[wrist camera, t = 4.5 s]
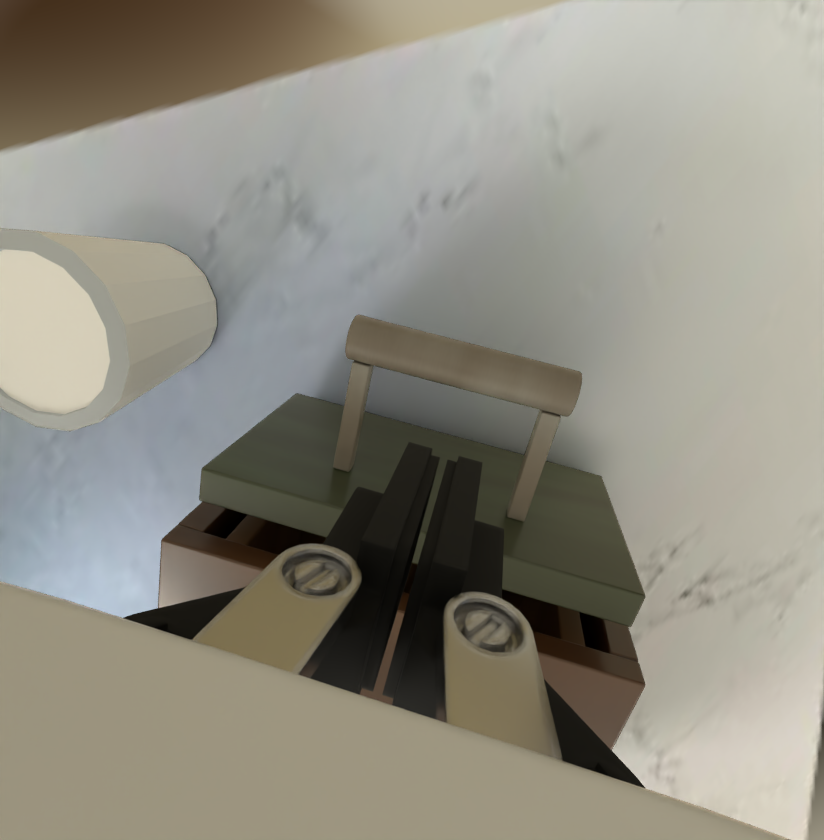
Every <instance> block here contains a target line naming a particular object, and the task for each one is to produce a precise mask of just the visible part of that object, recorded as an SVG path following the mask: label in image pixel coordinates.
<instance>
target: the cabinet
mask: <svg viewBox="0 0 824 840" xmlns="http://www.w3.org/2000/svg"><path fill="white" fill-rule="evenodd" d="M246 516H247V514H243V513H240V512H237V511H233V510H230V509H226V508H223V507H219V506H216V505H213V504H209V503H206V502H202V503H201V504H200V505H198V506H197V507H196V508H195V509H194V510H193V511H192V512H191V513H190V514H188V515H187V516H186V517H185V518H184V519H183V520H182V521H181V522H180V523H179V524H178V525H177V526H176V527H175V528H174V529H172V530H171V531H170V532H169V533H168V534H167V535H166V536H165V537H164V538H163V539H162V541H161V559H160V578H159V598H158V608H162V607H166V606H170V605H174V604H178V603H182V602H186V601H190V600H195V599H199V598H203V597H207V596H211V595H215V594H219V593H223V592H228V591H232V590H236V589H240V588H244V587H246V586H247V585H248V584H249V583H251V582H252V581H253V580H254V579H255V578H256V577H257V576H258V575H259V574H260V573H261V572H262V571H263V570H264V569H265V568H266V567H267V566H268V565H269V564H270V563H271V562H272V561H273V560H274V559H275V558H276V557H277V556H278V555H277V554H274V553H271V552H267V551H264V550H260V549H257V548H254V547H250V546H247V545H244V544H240V543H237V542H234V541H230V540H227V539H226V538H227V537H228V536H229V535H230V533H231V532H232V531H233V530H234V529H235V528H236V527H237V526H238V525H239V523H240V522H241V521H242V520H243V519H244V518H245V517H246ZM408 598H409V594H408V593H405V592H403V594H402V598H401V601H400V604H399V607H398V611H397V614H396V617H395V621H394V624H393V627H392V630H391V634H390V637H389V640H388V644H387V647H386V650H385V654H384V657H383V660H382V663H381V667H380V670H379V673H378V677H377V680H376V683H375V686H374V690H373V692H372V691H369V690H366V689H363V688H362V690H361V693H360V695H362V696H365V697H368V698H372V699H375V700H378V701H381V702H384V703H387V704H390V705H392V702H393V698H390V697H387V696H384V695H382V693H383V690H384V686H385V682H386V679H387V675H388V671H389V668H390V664H391V660H392V657H393V653H394V649H395V646H396V642H397V638H398V635H399V631H400V627H401V624H402V620H403V616H404V613H405V609H406V605H407V602H408ZM579 614H580V619H581V625H582V630H583V636H584V641H585V646H582V645H579V644H575V643H572V642H569V641H565V640H562V639H559V638H555V637H552V636H549V635H545V634H542V633H539V632H535V631H532V632H533V635H534V639H535V644H536V648H537V652H538V656H539V661H540V665H541V669H542V673H543V678H544V679H545V680H546V681H547V682H548V684H549V685H550V686H551V687H552V688H553V689H554V690H555V691H556V692H557V693H558V694H559V695H560V696H561V697H562V698H563V700H564V701H565V702H566V703H567V704H568V705H569V706H570V707H571V708H572V709H573V710H574V711H575V712H576V713H577V714H578V715H579V717H580V718H581V719H582V720H583V721H584V722H585V723H586V724H587V725H588V726H589V727H590V728H591V729H592V730H593V731H594V733H595V734H596V735H597V736H598V737H599V738H600V739H601V740H602V741H603V742H604V743H605V744H606V745H607V746H608V747H609V748H610V750H611V751H612V749H613V747H614V745H615V743H616V741H617V739H618V737H619V735H620V733H621V731H622V729H623V728H624V726H625V724H626V722H627V720H628V718H629V716H630V714H631V712H632V710H633V708H634V707H635V705H636V703H637V701H638V699H639V697H640V695H641V693H642V691H643V689H644V687H645V682H644V678H643V675H642V672H641V668H640V665H639V663H638V658H637V655H636V651H635V648H634V645H633V641H632V638H631V634H630V631H629V628H628V626H625V625H621V624H618V623H615V622H611V621H608V620H604V619H601V618H597V617H594V616H591V615H587V614H584V613H580V612H579Z"/></svg>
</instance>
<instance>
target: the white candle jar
mask: <svg viewBox="0 0 824 840" xmlns="http://www.w3.org/2000/svg"><path fill="white" fill-rule="evenodd" d="M216 327H217V310H216V299H215V297H214V294H213V292H212V290H211V288H210V285H209V283H208V281H207V278H206V276H205V275H204V274H203V272H202V271H201V270H200V269H199V268H198V267H197V266H196V265H195V264H194V263H193V261H192V260H191V259H190V258H189V257H188V256H187V255H185V254H183V253H181V252H179V251H177V250H176V249H174V248H172V247H170V246H168V245H166V244H161V243H151V242H141V241H131V240H121V239H111V238H101V237H91V236H81V235H71V234H61V233H51V232H41V231H29V230H16V229H3V228H0V407H1V408H2V409H3V410H5V411H7V412H9V413H11V414H13V415H15V416H17V417H19V418H21V419H22V420H24V421H26V422H28V423H30V424H32V425H34V426H36V427H41V428H48V429H56V430H63V431H73V430H76V429H79V428H83V427H86V426H89V425H92V424H95V423H98V422H100V421H102V420H104V419H105V418H107V417H108V416H110V415H111V414H113V413H115V412H116V411H118V410H119V409H121V408H122V407H124V406H126V405H127V404H129V403H130V402H132V401H133V400H135V399H136V398H138V397H140V396H141V395H143V394H144V393H146V392H147V391H149V390H151V389H152V388H154V387H155V386H157V385H158V384H160V383H162V382H163V381H165V380H166V379H168V378H169V377H171V376H172V375H174V374H176V373H177V372H179V371H180V370H182V369H183V368H185V367H187V366H188V365H190V364H191V363H193V362H194V361H196V360H197V359H198V358H199V357H200V356H201V355H202V354H203V353H204V352H205V351H206V350H207V349H208V348H209V347H210V345H211V342H212V339H213V336H214V333H215V330H216Z"/></svg>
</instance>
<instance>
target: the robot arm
mask: <svg viewBox="0 0 824 840" xmlns="http://www.w3.org/2000/svg"><path fill="white" fill-rule="evenodd" d="M431 453H432V448H429V447H426V446H422V445H419V444H415V443H412V442H409V443H408V445H407V447H406V449H405V451H404V453H403V455H402V457H401V459H400V461H399V463H398V465H397V467H396V469H395V471H394V473H393V476H392V478H391V480H390V482H389V484H388V486H387V488H386V490H385V492H384V494H383V493H380V492H376V491H373V490H370V489H366V488H363V487H357V488H356V489H355V491H354V493H353V494H352V496H351V498H350V499H349V501H348V503H347V504H346V506H345V508H344V509H343V511H342V513H341V515H340V516H339V518H338V520H337V521H336V523H335V525H334V526H333V528H332V530H331V531H330V533H329V535H328V536H327V538H326V540H325V541H324V543H323V544H313V543H312V544H302V545H297V546H294V547H291V548H288V549H287V550H285V551H284V552H282V553H281V554H280V555H278V556H277V557H276V558H275V559H274V560H273V561H272V562H271V563H270V564H269V565H268V566H267V567H266V568H265V569H264V570H263V571H262V572H261V573H260V574H259V575H258V576H257V577H256V578H255V579H254V580H253V581H252V582H251V583H249V584H248V585H247V586H246V587H244V588H240V589H236V590H232V591H228V592H223V593H219V594H215V595H211V596H207V597H203V598H199V599H195V600H190V601H186V602H182V603H178V604H174V605H170V606H166V607H162V608H157V609H153V610H149V611H145V612H141V613H137V614H133V615H130V616H127V617H124V618H121V617H118V616H115V615H111V614H108V613H105V612H102V611H99V610H96V609H93V608H90V607H86V606H83V605H80V604H77V603H74V602H71V601H68V600H65V599H61V598H58V597H54V596H51V595H47V594H44V593H40V592H36V591H33V590H29V589H26V588H22V587H19V586H15V585H12V584H8V583H5V582H1V581H0V840H790V839H788V838H785V837H782V836H779V835H777V834H774V833H771V832H768V831H766V830H763V829H760V828H758V827H755V826H752V825H749V824H747V823H744V822H741V821H738V820H736V819H733V818H730V817H728V816H725V815H722V814H719V813H717V812H714V811H711V810H708V809H706V808H703V807H700V806H697V805H694V804H691V803H687V802H684V801H681V800H678V799H675V798H672V797H669V796H666V795H663V794H660V793H657V792H654V791H651V790H648V789H645V787H644V786H643V785H642V784H641V782H640V781H639V780H638V778H637V777H636V776H635V775H634V774H633V773H632V772H631V771H630V770H629V769H628V768H627V767H626V766H625V764H624V763H623V762H622V761H621V760H620V759H619V758H618V757H617V756H616V755H615V754H614V753H613V752H612V751H611V750H610V748H609V747H608V746H607V745H606V744H605V743H604V742H603V741H602V740H601V739H600V738H599V737H598V736H597V735H596V734H595V733H594V731H593V730H592V729H591V728H590V727H589V726H588V725H587V724H586V723H585V722H584V721H583V720H582V719H581V718H580V717H579V715H578V714H577V713H576V712H575V711H574V710H573V709H572V708H571V707H570V706H569V705H568V704H567V703H566V702H565V701H564V700H563V698H562V697H561V696H560V695H559V694H558V693H557V692H556V691H555V690H554V689H553V688H552V687H551V686H550V685H549V684H548V682H547V681H546V680H545V679H544V678H543V673H542V669H541V665H540V661H539V656H538V652H537V648H536V644H535V639H534V635H533V632H532V629H531V627H530V624H529V622H528V621H527V619H526V618H525V617H524V616H523V614H522V613H521V612H520V611H519V610H518V609H516V608H515V607H514V606H513V605H511V604H510V603H509V602H507V601H505V600H503V599H502V578H503V551H504V529H503V528H501V527H497V526H494V525H490V524H487V523H483V522H480V521H477V520H475V514H476V507H477V500H478V493H479V485H480V478H481V471H482V463H483V462H479V461H476V460H472V459H469V458H465V457H462V456H459V457H458V460H457V462H455V461H452V460H447V463H446V467H445V470H444V474H443V477H442V481H441V484H440V488H439V491H438V495H437V498H436V502H435V505H434V509H433V512H432V516H431V519H430V523H429V526H428V530H427V533H426V537H425V540H424V544H423V547H422V551H421V554H420V558H419V562H418V565H417V569H416V572H415V576H414V580H413V583H412V587H411V591H410V594H409V598H408V602H407V605H406V609H405V613H404V616H403V620H402V624H401V627H400V631H399V635H398V638H397V642H396V646H395V649H394V653H393V657H392V660H391V664H390V668H389V671H388V675H387V679H386V682H385V686H384V690H383V693H382V695H384V696H387V697H390V698H393V702H392V705H390V704H387V703H384V702H381V701H378V700H375V699H372V698H368V697H365V696H362V695H360V693H361V690H362V688H363V689H366V690H369V691H372V692H373V690H374V686H375V683H376V680H377V677H378V673H379V670H380V667H381V663H382V660H383V657H384V654H385V650H386V647H387V644H388V640H389V637H390V634H391V630H392V627H393V624H394V621H395V617H396V614H397V611H398V607H399V604H400V601H401V598H402V594H403V591H404V588H405V584H406V581H407V578H408V574H409V571H410V568H411V564H412V561H413V557H414V553H415V550H416V546H417V542H418V538H419V535H420V531H421V527H422V523H423V520H424V516H425V512H426V508H427V505H428V501H429V497H430V493H431V490H432V486H433V482H434V479H435V475H436V471H437V467H438V464H439V460H440V457H438V456H434V455H431Z"/></svg>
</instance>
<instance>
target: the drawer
mask: <svg viewBox="0 0 824 840" xmlns="http://www.w3.org/2000/svg"><path fill="white" fill-rule="evenodd" d="M345 353H346V357H347V358H348V359H351V360H354V362H353V363H352V366H351V372H350V377H349V382H348V388H347V393H346V399H345V404H344V406H342V405H338V404H335V403H331V402H327V401H324V400H320V399H316V398H313V397H309V396H305V395H302V394H298V393H296V394H295V395H294V396H292V397H291V398H290V399H289V400H287V401H286V402H285V403H284V404H282V405H281V406H280V407H278V408H277V409H276V410H275V411H273V412H272V413H271V414H270V415H268V416H267V417H266V418H265V419H263V420H262V421H261V422H260V423H258V424H257V425H256V426H255V427H253V428H252V429H251V430H249V431H248V432H247V433H246V434H244V435H243V436H242V437H241V438H239V439H238V440H237V441H236V442H234V443H233V444H232V445H231V446H229V447H228V448H227V449H226V450H224V451H223V452H222V453H221V454H219V455H218V456H217V457H215V458H214V459H213V460H212V461H210V462H209V463H208V464H207V465H205V466H204V467H203V468H202V471H201V483H200V496H199V500H200V501H202V502H206V503H209V504H213V505H216V506H219V507H223V508H226V509H230V510H233V511H237V512H240V513H243V514H247V516H246V517H245V518H244V519H243V520H242V521H241V522H240V523H239V525H238V526H237V527H236V528H235V529H234V530H233V531H232V532H231V533H230V535H229V536H228V537H227V538H226V539H227V540H230V541H234V542H237V543H240V544H244V545H247V546H250V547H254V548H257V549H260V550H264V551H267V552H271V553H274V554H277V555H280V554H281V553H282V552H284V551H285V550H287V549H288V548H291V547H294V546H297V545H302V544H312V543H313V544H323V543H324V541H325V540H326V538H327V536H328V535H329V533H330V531H331V530H332V528H333V526H334V525H335V523H336V521H337V520H338V518H339V516H340V515H341V513H342V511H343V509H344V508H345V506H346V504H347V503H348V501H349V499H350V498H351V496H352V494H353V493H354V491H355V489H356V488H357V487H363V488H366V489H370V490H373V491H376V492H380V493H383V494H384V492H385V490H386V488H387V486H388V484H389V482H390V480H391V478H392V476H393V473H394V471H395V469H396V467H397V465H398V463H399V461H400V459H401V457H402V455H403V453H404V451H405V449H406V447H407V445H408V443H409V442H412V443H415V444H419V445H422V446H426V447H429V448H432V453H431V455H434V456H438V457H440V460H439V464H438V467H437V471H436V475H435V479H434V482H433V486H432V490H431V493H430V497H429V501H428V505H427V508H426V512H425V516H424V520H423V523H422V527H421V531H420V535H419V538H418V542H417V546H416V550H415V553H414V557H413V561H412V564H411V568H410V571H409V574H408V578H407V581H406V584H405V588H404V591H403V592H405V593H408V594H410V591H411V587H412V583H413V580H414V576H415V572H416V569H417V565H418V562H419V558H420V554H421V551H422V547H423V544H424V540H425V537H426V533H427V530H428V526H429V523H430V519H431V516H432V512H433V509H434V505H435V502H436V498H437V495H438V491H439V488H440V484H441V481H442V477H443V474H444V470H445V467H446V463H447V460H452V461H455V462H457V460H458V457H459V456H462V457H465V458H469V459H472V460H476V461H479V462H483V463H482V471H481V478H480V485H479V493H478V500H477V507H476V514H475V520H477V521H480V522H483V523H487V524H490V525H494V526H497V527H501V528H503V529H504V551H503V578H502V599H503V600H505V601H507V602H509V603H510V604H511V605H513V606H514V607H515V608H516V609H518V610H519V611H520V612H521V613H522V614H523V616H524V617H525V618H526V619H527V621H528V622H529V624H530V627H531V629H532V631H535V632H539V633H542V634H545V635H549V636H552V637H555V638H559V639H562V640H565V641H569V642H572V643H575V644H579V645H582V646H585V641H584V636H583V630H582V625H581V619H580V614H579V612H580V613H584V614H587V615H591V616H594V617H597V618H601V619H604V620H608V621H611V622H615V623H618V624H621V625H625V626H628V627H631V626H632V624H633V622H634V620H635V618H636V616H637V614H638V611H639V609H640V607H641V605H642V603H643V601H644V599H645V593H644V591H643V588H642V585H641V582H640V580H639V577H638V574H637V572H636V569H635V566H634V563H633V561H632V558H631V555H630V552H629V550H628V547H627V544H626V542H625V539H624V536H623V533H622V531H621V528H620V525H619V523H618V520H617V517H616V514H615V512H614V509H613V506H612V504H611V501H610V498H609V495H608V493H607V490H606V487H605V485H604V482H603V479H602V477H601V476H599V475H595V474H592V473H588V472H584V471H581V470H577V469H573V468H570V467H566V466H562V465H559V464H555V463H551V462H548V461H546V459H547V456H548V453H549V450H550V447H551V444H552V441H553V439H554V436H555V433H556V430H557V427H558V424H559V422H560V419H561V417H560V415H562V416H566V417H567V416H569V415H570V414H571V413H572V411H573V409H574V407H575V405H576V402H577V400H578V396H579V393H580V389H581V384H582V373H581V372H579V371H575V370H572V369H568V368H564V367H560V366H556V365H552V364H548V363H544V362H541V361H537V360H533V359H529V358H525V357H521V356H517V355H513V354H509V353H506V352H502V351H498V350H494V349H490V348H486V347H482V346H478V345H475V344H471V343H467V342H463V341H459V340H455V339H451V338H447V337H444V336H440V335H436V334H432V333H428V332H424V331H420V330H416V329H412V328H409V327H405V326H401V325H397V324H393V323H389V322H385V321H381V320H378V319H374V318H370V317H366V316H362V315H356V316H355V318H354V319H353V321H352V323H351V325H350V328H349V332H348V335H347V340H346V348H345ZM373 366H377V367H381V368H385V369H388V370H392V371H396V372H400V373H403V374H407V375H411V376H415V377H419V378H422V379H426V380H430V381H434V382H437V383H441V384H445V385H449V386H453V387H456V388H460V389H464V390H468V391H471V392H475V393H479V394H483V395H487V396H490V397H494V398H498V399H502V400H505V401H509V402H513V403H517V404H520V405H524V406H528V407H532V408H536V409H539V413H538V416H537V419H536V422H535V425H534V428H533V431H532V434H531V437H530V440H529V443H528V446H527V449H526V452H525V455H522V454H518V453H515V452H511V451H507V450H504V449H500V448H496V447H493V446H489V445H485V444H482V443H478V442H474V441H471V440H467V439H463V438H460V437H456V436H452V435H449V434H445V433H441V432H437V431H434V430H430V429H426V428H423V427H419V426H415V425H412V424H408V423H404V422H401V421H397V420H393V419H390V418H386V417H382V416H379V415H375V414H371V413H368V412H364V411H365V406H366V401H367V396H368V391H369V386H370V381H371V376H372V371H373Z"/></svg>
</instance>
